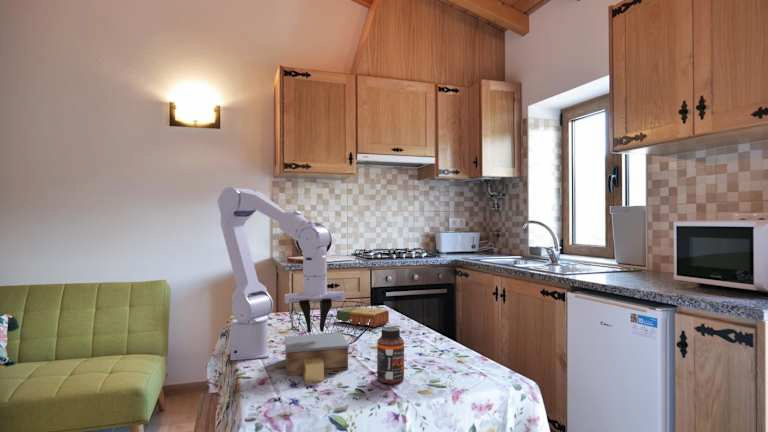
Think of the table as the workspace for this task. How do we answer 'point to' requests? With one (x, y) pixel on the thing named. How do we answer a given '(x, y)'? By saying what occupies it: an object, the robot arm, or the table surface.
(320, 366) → the block
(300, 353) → the box
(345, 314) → the carton
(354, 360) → the table surface
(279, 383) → the table surface
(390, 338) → the supplement bottle
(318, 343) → the lid
